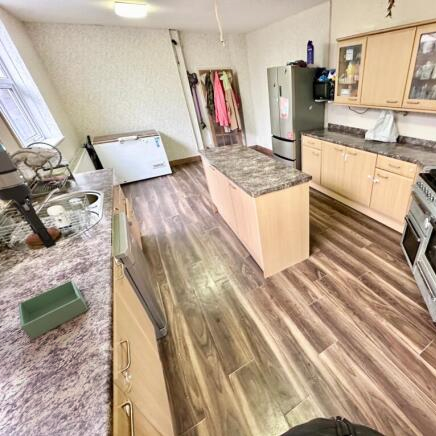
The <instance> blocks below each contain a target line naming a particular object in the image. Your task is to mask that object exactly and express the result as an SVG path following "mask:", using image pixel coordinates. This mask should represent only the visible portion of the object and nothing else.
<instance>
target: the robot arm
mask: <svg viewBox="0 0 436 436" xmlns="http://www.w3.org/2000/svg"><path fill="white" fill-rule="evenodd" d="M23 176H24V172H22V171H19V169H18V167H17V166H16V165H15V162H14V161H13V159H12V158H11V156H10V155H9V152H8V151H7V148H5V146H4V145H3V144H2V142H1V141H0V200H1V201H4V202H5V201H12V202H11V204H12V206H13V208H14V209H16V210H17V212H18V213H19V214H20V215H21V216H22V218H23V219H24V221H25V222H26V223H27V224H28V225H29V228H30V229H31V230H32V232H33V233H34V234H37V235H38V236H39V238H40V239H41V241H42V242H43V244H44V245H45V248H46V249H50V248H52V247H55V246H57V242H56V243H55V241H54V240H53V238H52V237H51V235H50V234H49V232H48V231H47V229H48V227H46V226H45V224H44V222H43V221H42V219H41V218H40V216H39V215H38V213H37V211H36V209H35V207H34V206H33V203H32V202H31V200H29V199H28V198H25V197H28V196H30V195H32V193H33V191H32V189H31V188H30V186H29V185H28V183H26V182H25V181H26V180H25V179H24V177H23ZM33 233H32V234H33Z"/></svg>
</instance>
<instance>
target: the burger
mask: <svg viewBox="0 0 436 436" xmlns="http://www.w3.org/2000/svg"><path fill="white" fill-rule="evenodd" d="M47 231H48V232H49V234H50V235H51V237H52V238H53V240H54V241H55V243H56V244H57V243H58V242H60V240H62V239H63V236H64V235H65V234H64V233H63V232H62V231H61V230H59V229H58V228H56V227H49V228H48V227H47ZM24 243H25V245H26V246H27V248H28V249H29V250H33V251H39V250H42V249H45V248H46V247H45V245H44V244H43V242H42V241H41V239H40V238H39V236H38V235H37V234H34V233H31V234H30V235H28V236H27V237H26V238H25V240H24Z"/></svg>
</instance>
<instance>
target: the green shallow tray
mask: <svg viewBox="0 0 436 436" xmlns="http://www.w3.org/2000/svg"><path fill="white" fill-rule="evenodd" d="M88 310H89V307H88V305H87V304H86V302H85V298H84V297H83V295H82V293H81V291H80V289H79V287H78V286H77V285H76V283H75V282H74V280H73V279H71V280H68V281H66V282H64V283H61V284H59V285H57V286H55V287H53V288H52V287H51V288H50V289H48V290H45V291H43V292H41V293H38V294H36V295H35V296H32V297H30V298H28V299H25V300H23V301H21V302H19V303H18V312H19V321H20V328H21V329H22V330H23V332H24V333H26V334H27V336H28V337H29V338H30V339H31V340H34V339H36V338H38V337H40V336H41V335H43V334H46V333H47V332H49V331H51V330H54V329H55V328H57V327H58V326H60V325H63V324H64V323H66V322H68V321H70V320H72V319H74V318H76V317H77V316H79V315H81V314H83V313H85V312H87V311H88Z"/></svg>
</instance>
